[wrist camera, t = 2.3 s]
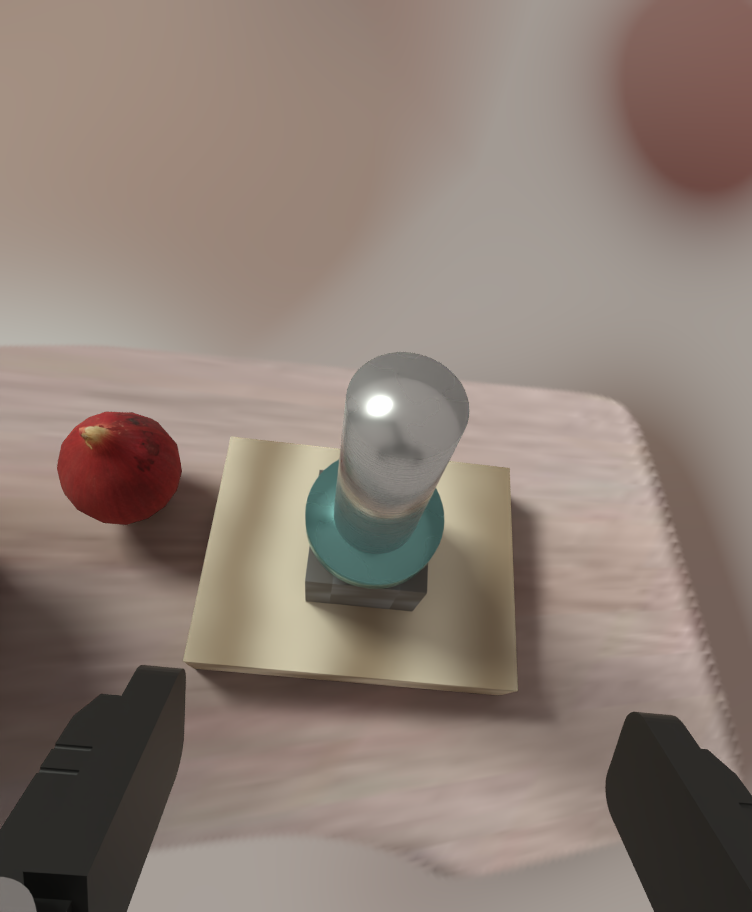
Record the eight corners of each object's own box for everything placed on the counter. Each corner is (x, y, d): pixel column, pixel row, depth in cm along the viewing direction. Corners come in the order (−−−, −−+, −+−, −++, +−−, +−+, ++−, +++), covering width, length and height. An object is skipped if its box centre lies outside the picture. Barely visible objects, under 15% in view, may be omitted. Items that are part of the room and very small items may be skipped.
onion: (153, 433, 35) (114, 354, 28) (212, 497, 34) (187, 431, 26) (66, 492, 33) (-1, 422, 26) (126, 564, 31) (72, 511, 24)
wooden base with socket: (194, 668, 29) (163, 649, 23) (236, 460, 35) (221, 398, 29) (499, 695, 30) (548, 683, 24) (494, 488, 36) (533, 435, 30)
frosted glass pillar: (298, 605, 28) (289, 486, 15) (313, 493, 31) (316, 309, 18) (418, 617, 29) (513, 510, 15) (423, 505, 31) (506, 333, 18)
